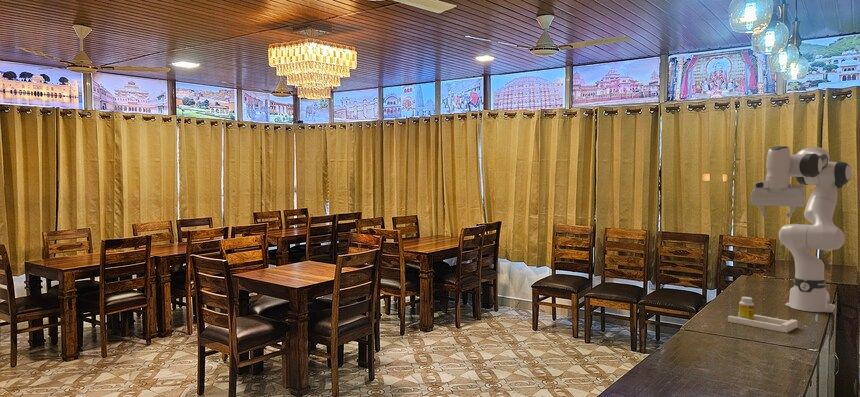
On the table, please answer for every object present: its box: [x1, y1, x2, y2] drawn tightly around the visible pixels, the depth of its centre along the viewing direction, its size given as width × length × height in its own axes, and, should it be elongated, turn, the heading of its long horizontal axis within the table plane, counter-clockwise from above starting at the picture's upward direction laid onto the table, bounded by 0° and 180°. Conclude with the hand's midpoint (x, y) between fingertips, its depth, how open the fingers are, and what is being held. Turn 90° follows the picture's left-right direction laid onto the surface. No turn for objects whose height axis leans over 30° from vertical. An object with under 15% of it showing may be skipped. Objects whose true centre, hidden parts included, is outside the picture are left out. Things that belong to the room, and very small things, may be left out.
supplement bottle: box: [738, 296, 755, 320], centre depth 237 cm, size 6×6×10 cm
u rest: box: [727, 312, 798, 334], centre depth 233 cm, size 12×22×3 cm, turn 39°
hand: (776, 216), depth 239 cm, fingers open, 8 cm apart
